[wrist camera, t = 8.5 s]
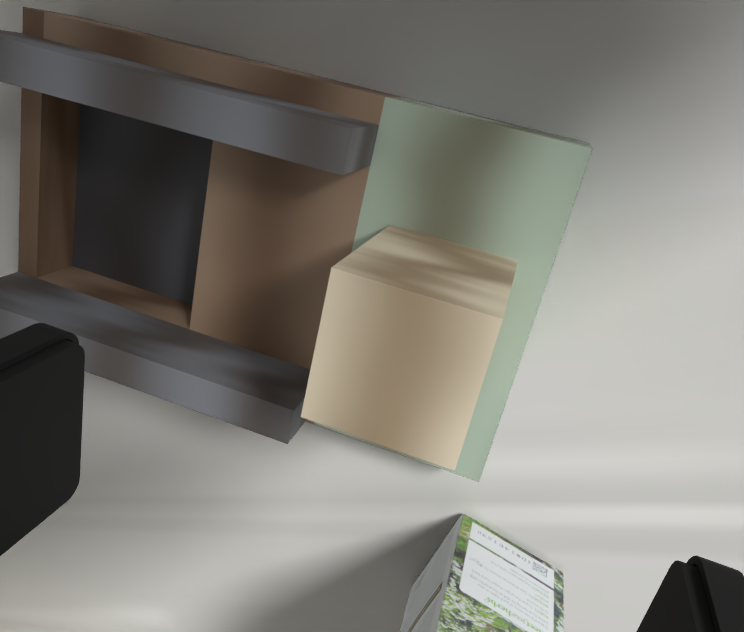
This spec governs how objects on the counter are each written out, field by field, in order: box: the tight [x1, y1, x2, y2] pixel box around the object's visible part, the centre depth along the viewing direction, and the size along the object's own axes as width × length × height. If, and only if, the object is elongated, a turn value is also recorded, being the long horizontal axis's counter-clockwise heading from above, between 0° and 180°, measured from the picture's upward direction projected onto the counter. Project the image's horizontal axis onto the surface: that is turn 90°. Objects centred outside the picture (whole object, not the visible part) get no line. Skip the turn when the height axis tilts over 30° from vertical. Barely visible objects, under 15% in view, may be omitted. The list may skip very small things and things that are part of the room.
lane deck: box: [0, 7, 592, 482], centre depth 26 cm, size 23×14×6 cm, turn 77°
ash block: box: [301, 225, 518, 471], centre depth 22 cm, size 5×5×7 cm
